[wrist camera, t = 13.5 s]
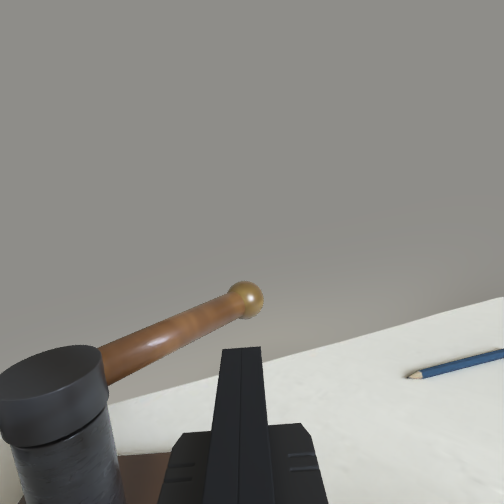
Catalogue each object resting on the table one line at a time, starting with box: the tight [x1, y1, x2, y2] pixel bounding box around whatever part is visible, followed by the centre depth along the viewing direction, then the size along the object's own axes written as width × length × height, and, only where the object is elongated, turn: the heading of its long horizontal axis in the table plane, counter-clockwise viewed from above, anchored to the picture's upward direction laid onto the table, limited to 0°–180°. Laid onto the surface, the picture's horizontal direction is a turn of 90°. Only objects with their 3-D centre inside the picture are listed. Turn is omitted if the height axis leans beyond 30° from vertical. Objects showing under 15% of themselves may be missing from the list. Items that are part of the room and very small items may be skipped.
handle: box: [0, 281, 263, 447], centre depth 21 cm, size 18×5×3 cm, turn 139°
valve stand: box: [10, 403, 171, 504], centre depth 18 cm, size 14×14×11 cm
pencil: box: [407, 349, 504, 379], centre depth 36 cm, size 1×1×15 cm
